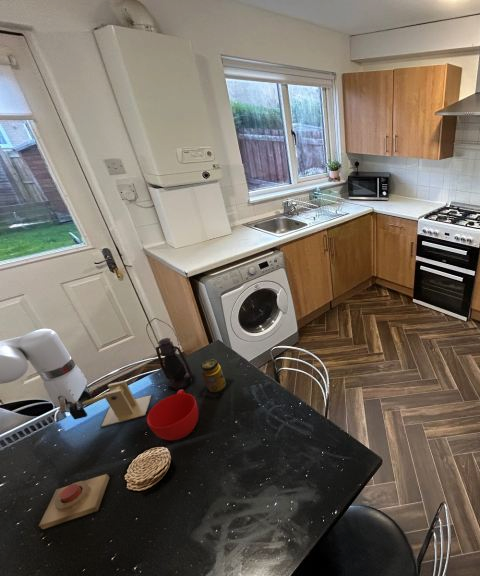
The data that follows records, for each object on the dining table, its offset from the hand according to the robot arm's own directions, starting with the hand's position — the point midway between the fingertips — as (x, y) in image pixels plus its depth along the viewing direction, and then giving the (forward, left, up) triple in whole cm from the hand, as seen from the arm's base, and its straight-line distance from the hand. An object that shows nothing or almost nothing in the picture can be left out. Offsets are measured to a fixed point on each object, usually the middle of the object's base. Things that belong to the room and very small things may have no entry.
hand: (84, 409), depth 100 cm
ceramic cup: (+28, -13, -6) cm, 31 cm away
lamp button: (+6, -29, -2) cm, 30 cm away
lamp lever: (+6, 0, +2) cm, 6 cm away
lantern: (+25, +8, -6) cm, 27 cm away
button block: (+6, -29, -6) cm, 30 cm away
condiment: (+37, 0, -6) cm, 37 cm away
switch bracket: (+10, 0, -6) cm, 12 cm away
